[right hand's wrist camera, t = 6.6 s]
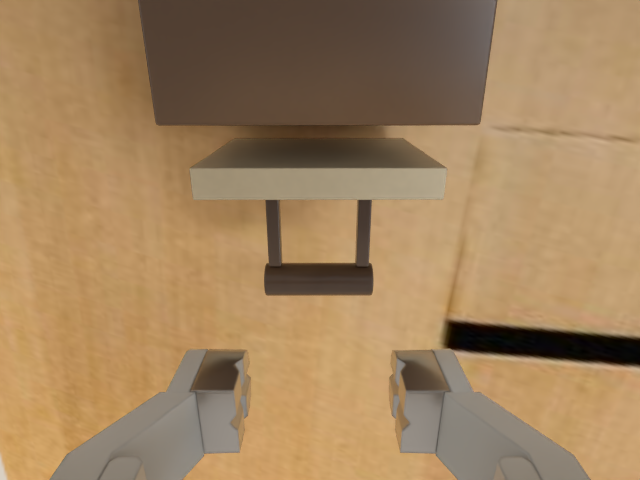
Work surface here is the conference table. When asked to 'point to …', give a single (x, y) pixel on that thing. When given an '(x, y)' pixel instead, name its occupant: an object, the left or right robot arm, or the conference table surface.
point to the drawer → (318, 195)
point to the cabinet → (317, 61)
